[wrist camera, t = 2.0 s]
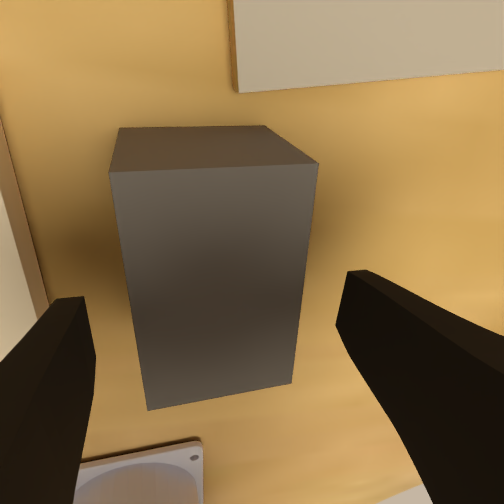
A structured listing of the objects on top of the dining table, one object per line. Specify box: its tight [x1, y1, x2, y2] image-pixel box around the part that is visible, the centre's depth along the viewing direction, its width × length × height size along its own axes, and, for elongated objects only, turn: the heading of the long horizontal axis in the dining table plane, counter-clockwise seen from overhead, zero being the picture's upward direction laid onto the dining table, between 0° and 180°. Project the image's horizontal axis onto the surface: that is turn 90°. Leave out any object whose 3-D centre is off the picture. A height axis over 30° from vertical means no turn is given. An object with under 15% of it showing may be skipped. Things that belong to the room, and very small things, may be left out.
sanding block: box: [109, 126, 319, 411], centre depth 13 cm, size 8×5×5 cm, turn 178°
